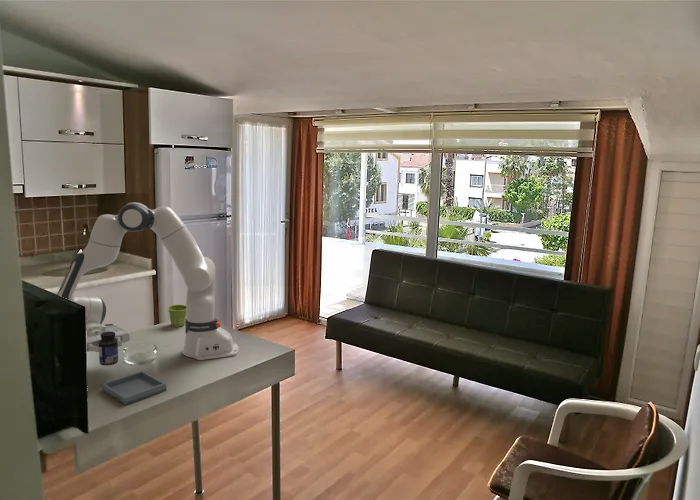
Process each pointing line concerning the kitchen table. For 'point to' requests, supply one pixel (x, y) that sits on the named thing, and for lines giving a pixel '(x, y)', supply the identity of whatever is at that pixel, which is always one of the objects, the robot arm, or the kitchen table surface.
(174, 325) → the object
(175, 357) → the kitchen table surface
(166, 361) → the kitchen table surface
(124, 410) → the kitchen table surface
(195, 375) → the kitchen table surface
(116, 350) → the pill bottle
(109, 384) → the tray
